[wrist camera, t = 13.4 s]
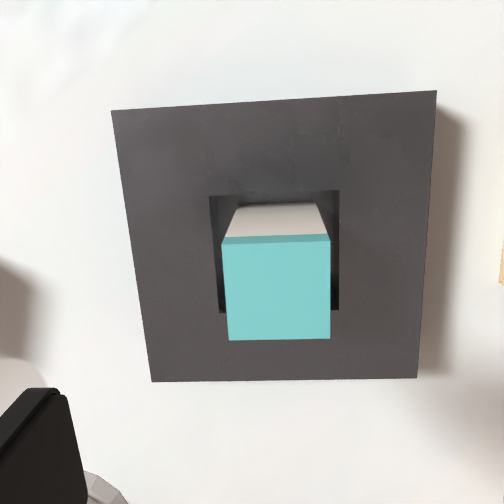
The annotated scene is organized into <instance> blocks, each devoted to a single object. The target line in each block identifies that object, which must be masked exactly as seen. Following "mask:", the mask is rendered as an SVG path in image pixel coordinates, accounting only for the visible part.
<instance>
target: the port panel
mask: <svg viewBox="0 0 504 504" xmlns="http://www.w3.org/2000/svg"><path fill="white" fill-rule="evenodd" d="M436 95H437V90H433V91H417V92H401V93H385V94H368V95H352V96H336V97H320V98H304V99H288V100H272V101H256V102H240V103H224V104H208V105H192V106H176V107H160V108H144V109H128V110H112V111H111V115H112V121H113V128H114V135H115V141H116V148H117V155H118V161H119V168H120V175H121V181H122V188H123V194H124V201H125V208H126V214H127V221H128V228H129V234H130V241H131V248H132V254H133V261H134V267H135V274H136V281H137V287H138V294H139V301H140V307H141V314H142V321H143V327H144V334H145V340H146V347H147V354H148V360H149V367H150V374H151V380H152V382H198V381H265V380H333V379H400V378H417V370H418V356H419V341H420V327H421V312H422V298H423V283H424V269H425V255H426V240H427V226H428V211H429V197H430V182H431V168H432V153H433V139H434V124H435V110H436ZM298 202H316V205H317V208H318V210H319V213H320V215H321V218H322V221H323V223H324V226H325V228H326V231H327V234H328V236H329V239H330V339H278V340H229V335H228V323H227V310H226V297H225V284H224V272H223V259H222V246H221V244H222V242H223V240H224V237H225V235H226V233H227V230H228V228H229V225H230V223H231V221H232V218H233V216H234V214H235V211H236V209H237V206H238V205H248V204H273V203H298Z"/></svg>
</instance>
